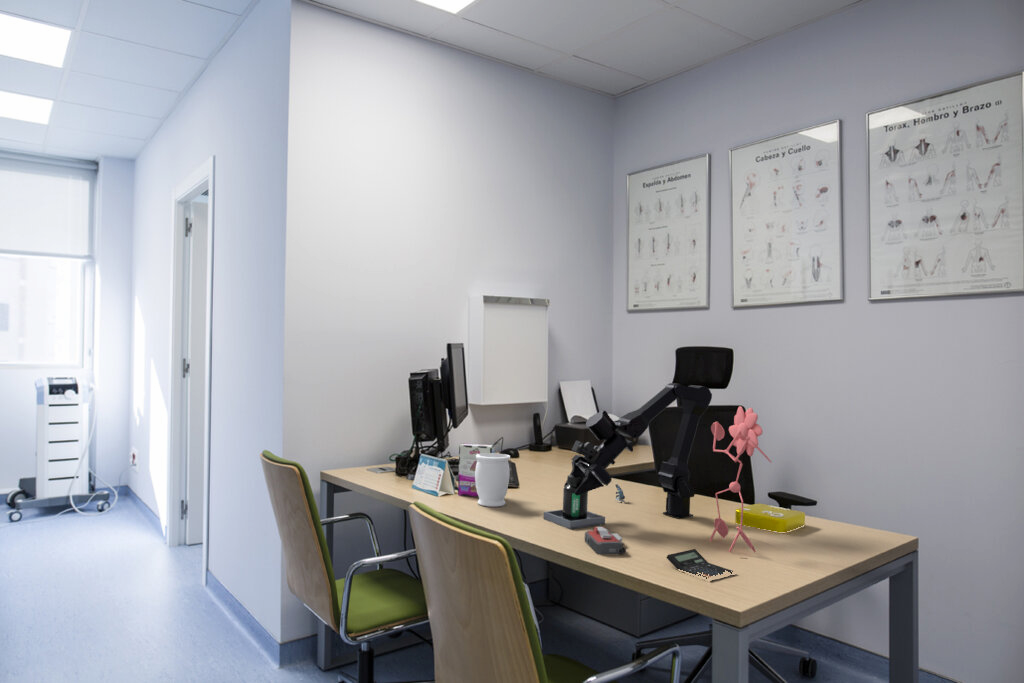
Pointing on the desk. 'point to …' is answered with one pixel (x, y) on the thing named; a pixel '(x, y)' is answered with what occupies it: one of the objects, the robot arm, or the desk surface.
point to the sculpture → (620, 494)
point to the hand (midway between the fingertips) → (570, 490)
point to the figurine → (743, 439)
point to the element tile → (770, 517)
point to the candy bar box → (470, 467)
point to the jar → (492, 478)
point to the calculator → (695, 563)
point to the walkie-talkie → (604, 541)
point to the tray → (558, 519)
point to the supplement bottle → (574, 499)
